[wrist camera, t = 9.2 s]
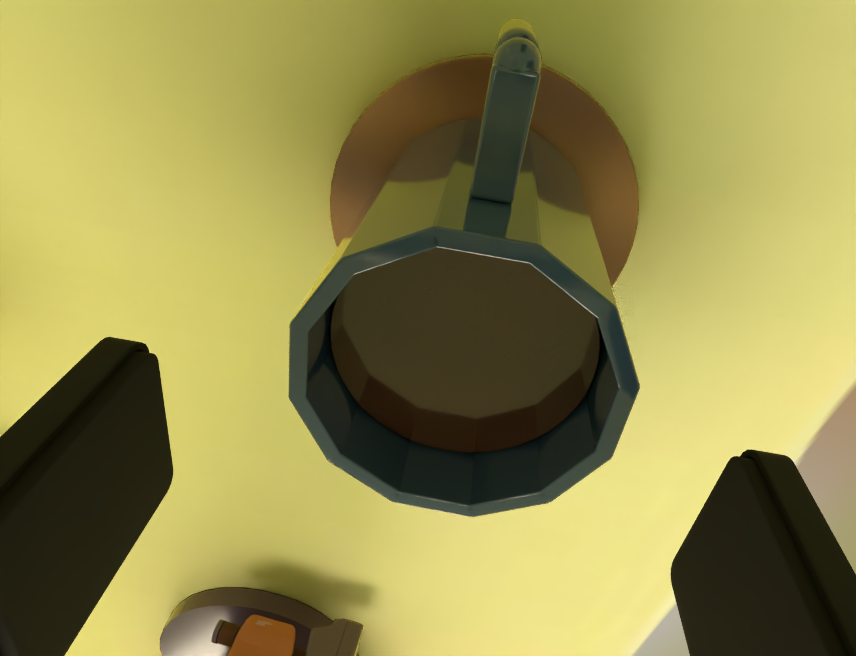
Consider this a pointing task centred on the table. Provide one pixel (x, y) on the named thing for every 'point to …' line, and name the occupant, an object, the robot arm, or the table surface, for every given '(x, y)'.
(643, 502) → the table surface
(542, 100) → the coaster
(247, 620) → the figurine
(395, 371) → the mug
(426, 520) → the table surface
